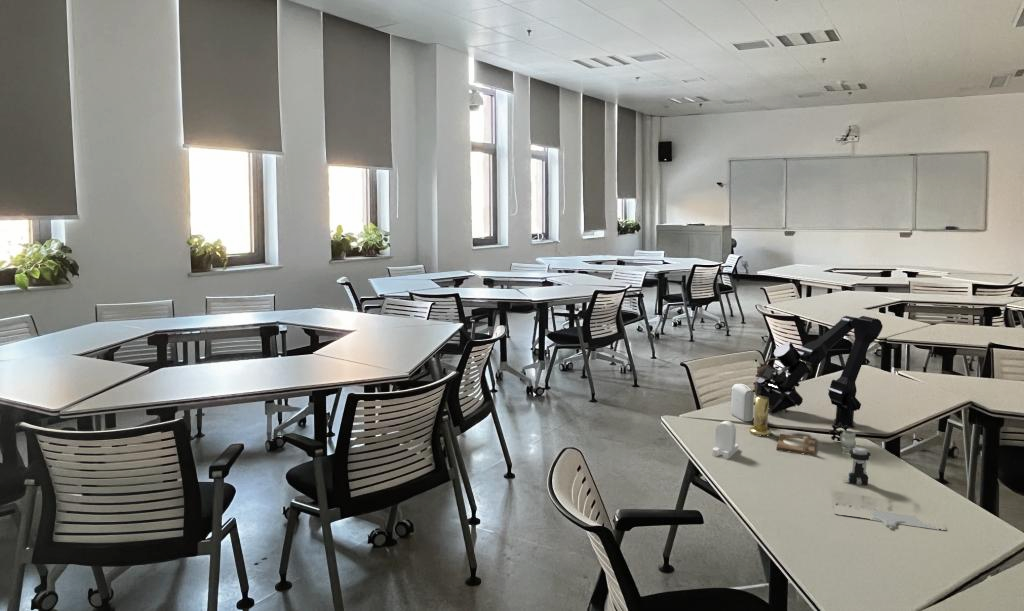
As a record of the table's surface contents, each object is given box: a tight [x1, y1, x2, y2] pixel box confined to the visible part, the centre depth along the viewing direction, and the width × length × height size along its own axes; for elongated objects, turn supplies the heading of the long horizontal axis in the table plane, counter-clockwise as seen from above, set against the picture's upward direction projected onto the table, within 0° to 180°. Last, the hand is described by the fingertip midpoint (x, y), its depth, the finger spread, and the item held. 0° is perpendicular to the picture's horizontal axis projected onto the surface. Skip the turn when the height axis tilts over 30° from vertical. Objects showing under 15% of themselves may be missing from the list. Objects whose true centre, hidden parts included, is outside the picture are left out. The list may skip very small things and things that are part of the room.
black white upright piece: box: [842, 446, 872, 486], centre depth 199 cm, size 7×5×10 cm
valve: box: [828, 423, 856, 455], centre depth 227 cm, size 7×7×12 cm
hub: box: [748, 395, 772, 437], centre depth 242 cm, size 9×7×12 cm
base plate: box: [775, 433, 816, 456], centre depth 229 cm, size 14×11×5 cm
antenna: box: [845, 506, 943, 531], centre depth 183 cm, size 25×24×1 cm
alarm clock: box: [753, 357, 797, 413], centre depth 265 cm, size 15×7×20 cm, turn 80°
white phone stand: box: [711, 420, 739, 460], centre depth 223 cm, size 5×10×10 cm, turn 145°
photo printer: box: [730, 383, 755, 422], centre depth 258 cm, size 10×4×12 cm, turn 12°
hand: (762, 409), depth 241 cm, fingers open, 9 cm apart
